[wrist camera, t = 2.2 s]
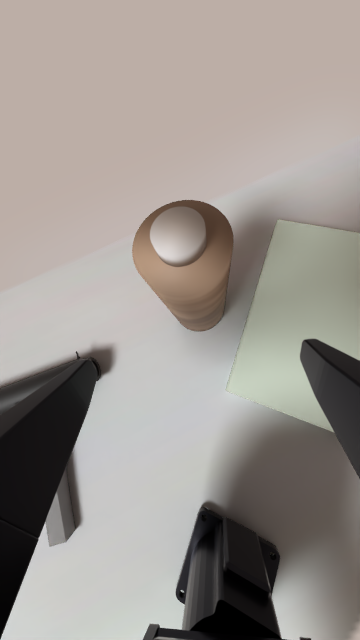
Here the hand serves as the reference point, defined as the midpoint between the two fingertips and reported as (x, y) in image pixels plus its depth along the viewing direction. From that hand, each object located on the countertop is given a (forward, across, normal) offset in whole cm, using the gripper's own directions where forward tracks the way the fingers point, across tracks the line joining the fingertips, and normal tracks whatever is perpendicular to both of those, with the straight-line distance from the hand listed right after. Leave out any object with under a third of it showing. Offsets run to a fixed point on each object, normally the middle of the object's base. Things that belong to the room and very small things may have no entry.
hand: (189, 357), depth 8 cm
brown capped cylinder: (+12, 0, +4) cm, 13 cm away
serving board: (+10, -11, +6) cm, 16 cm away
